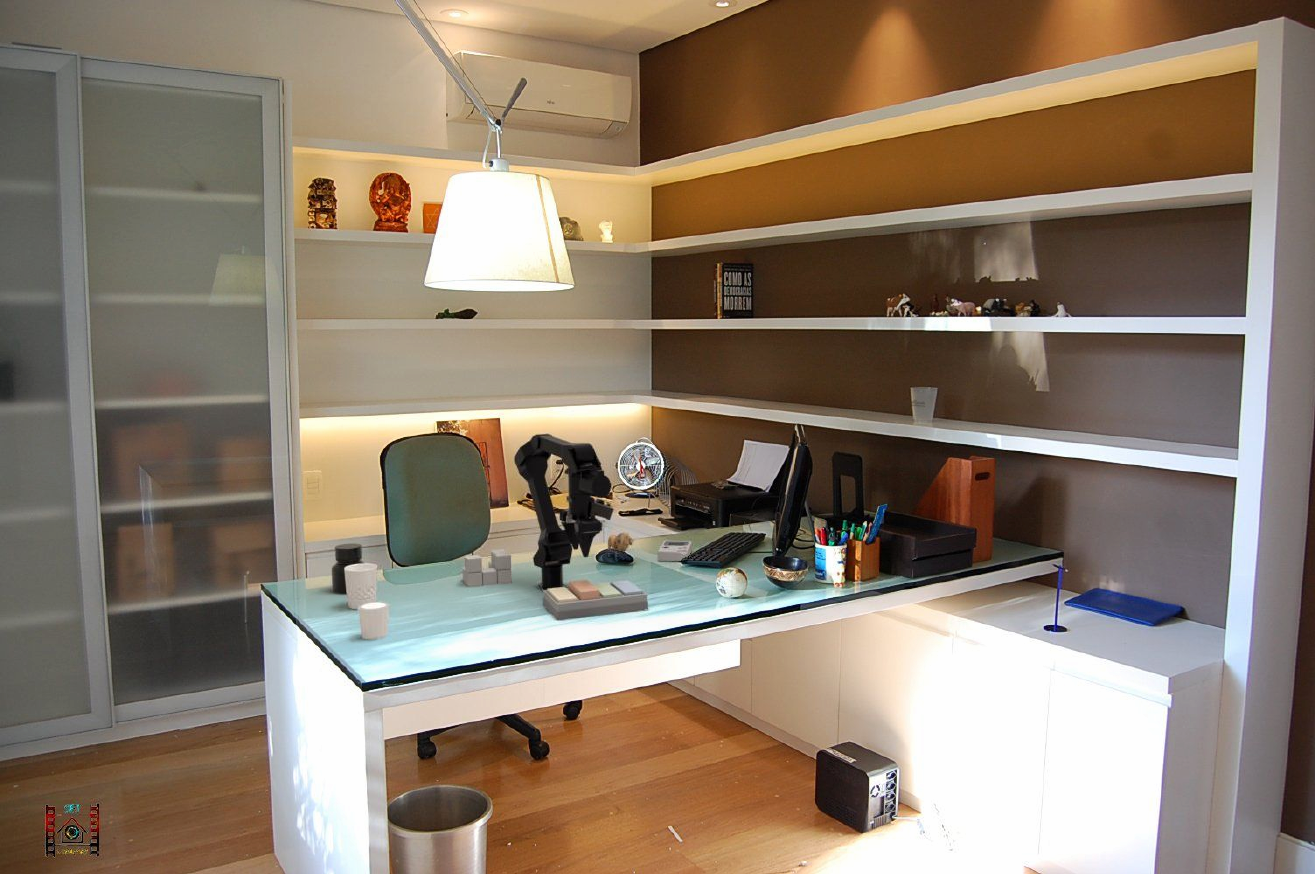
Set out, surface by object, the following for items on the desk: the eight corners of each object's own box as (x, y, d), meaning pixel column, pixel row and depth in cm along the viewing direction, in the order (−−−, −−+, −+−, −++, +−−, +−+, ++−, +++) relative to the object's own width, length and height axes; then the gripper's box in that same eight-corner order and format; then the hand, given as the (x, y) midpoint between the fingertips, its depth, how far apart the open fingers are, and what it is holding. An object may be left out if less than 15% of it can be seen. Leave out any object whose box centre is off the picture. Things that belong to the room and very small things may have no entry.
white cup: (384, 603, 243) (383, 564, 242) (366, 611, 236) (364, 571, 235) (358, 600, 246) (357, 562, 245) (339, 608, 239) (337, 569, 238)
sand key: (547, 598, 239) (547, 588, 239) (565, 596, 241) (565, 586, 241) (558, 609, 229) (558, 599, 229) (577, 607, 231) (577, 597, 231)
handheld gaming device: (657, 562, 286) (657, 550, 285) (663, 551, 300) (663, 539, 300) (687, 563, 285) (687, 551, 284) (691, 552, 299) (692, 540, 299)
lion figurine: (636, 562, 285) (635, 532, 284) (620, 564, 283) (620, 534, 282) (612, 552, 298) (612, 524, 297) (597, 554, 295) (597, 526, 294)
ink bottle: (375, 587, 258) (374, 544, 257) (352, 596, 250) (350, 551, 249) (347, 584, 262) (346, 541, 261) (324, 592, 254) (322, 547, 253)
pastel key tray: (543, 604, 241) (542, 590, 240) (629, 595, 249) (629, 581, 248) (557, 620, 228) (557, 604, 227) (647, 609, 236) (647, 594, 235)
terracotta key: (568, 590, 241) (568, 581, 241) (586, 588, 243) (586, 579, 243) (581, 601, 231) (581, 592, 231) (599, 599, 233) (599, 590, 232)
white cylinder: (362, 631, 220) (361, 601, 220) (393, 630, 221) (392, 600, 220) (355, 640, 214) (354, 610, 213) (387, 639, 214) (386, 609, 213)
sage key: (590, 593, 243) (590, 584, 243) (607, 591, 245) (607, 582, 245) (603, 604, 233) (603, 595, 233) (621, 602, 235) (621, 593, 234)
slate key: (611, 591, 245) (611, 582, 245) (628, 589, 247) (628, 580, 247) (625, 602, 235) (625, 592, 235) (642, 600, 237) (642, 590, 236)
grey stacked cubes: (502, 573, 274) (501, 545, 273) (511, 583, 263) (511, 554, 262) (460, 577, 269) (459, 549, 269) (468, 587, 258) (467, 559, 258)
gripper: (621, 496, 237) (622, 558, 239) (599, 485, 254) (599, 543, 256) (578, 499, 233) (579, 562, 235) (558, 488, 250) (559, 546, 252)
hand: (580, 553), depth 245 cm, fingers open, 9 cm apart
